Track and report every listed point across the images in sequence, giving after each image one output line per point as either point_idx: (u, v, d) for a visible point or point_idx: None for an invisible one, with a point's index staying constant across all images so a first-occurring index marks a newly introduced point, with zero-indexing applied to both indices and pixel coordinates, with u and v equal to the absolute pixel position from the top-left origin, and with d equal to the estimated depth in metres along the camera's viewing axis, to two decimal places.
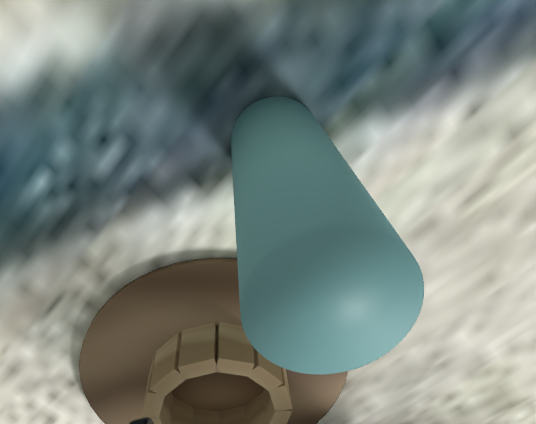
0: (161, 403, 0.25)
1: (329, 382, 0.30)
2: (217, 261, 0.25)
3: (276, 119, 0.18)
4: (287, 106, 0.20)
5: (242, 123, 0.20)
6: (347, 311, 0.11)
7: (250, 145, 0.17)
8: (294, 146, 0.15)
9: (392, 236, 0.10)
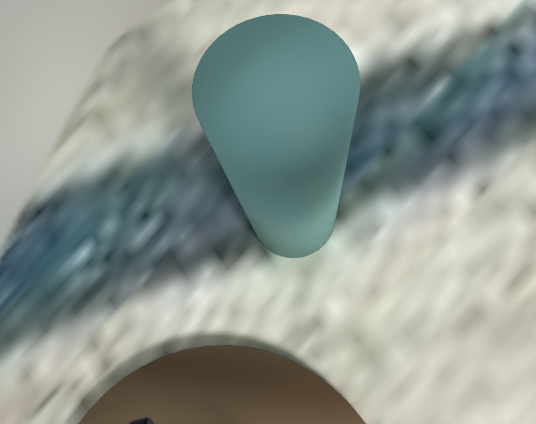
0: None
1: None
2: (229, 345, 0.22)
3: None
4: None
5: None
6: (288, 89, 0.12)
7: None
8: None
9: (320, 25, 0.12)
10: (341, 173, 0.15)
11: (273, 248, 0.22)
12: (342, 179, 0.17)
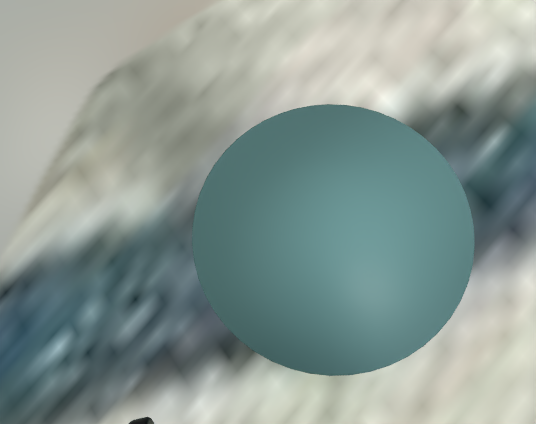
0: None
1: None
2: None
3: None
4: None
5: None
6: (352, 237, 0.07)
7: None
8: None
9: (398, 123, 0.08)
10: None
11: None
12: None
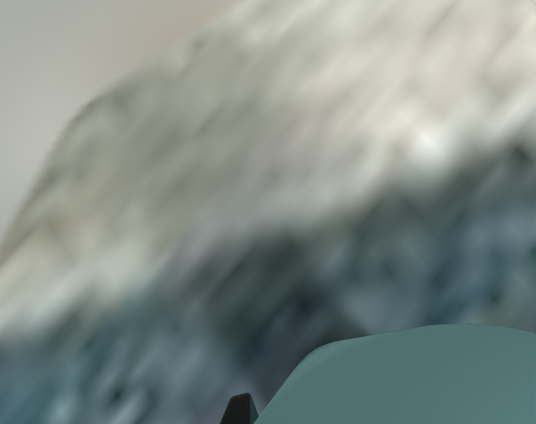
0: None
1: None
2: None
3: None
4: None
5: None
6: None
7: None
8: None
9: None
10: None
11: None
12: None
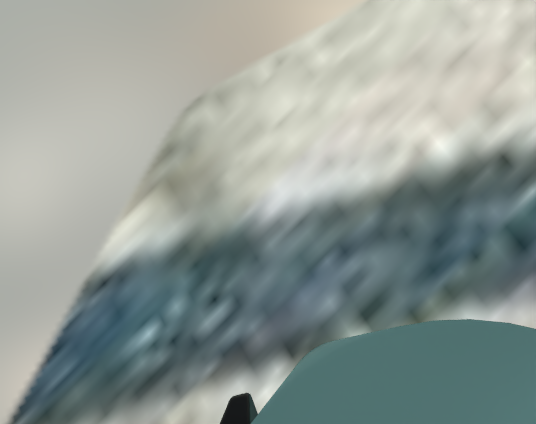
0: None
1: None
2: None
3: None
4: None
5: None
6: None
7: None
8: None
9: None
10: None
11: None
12: None
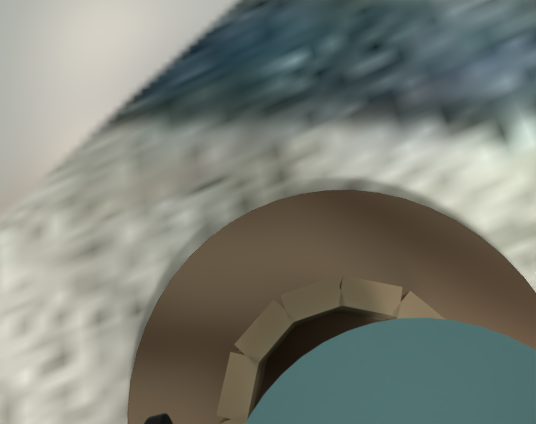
0: (280, 333, 0.15)
1: None
2: (430, 210, 0.19)
3: None
4: None
5: None
6: None
7: None
8: None
9: None
10: None
11: None
12: None
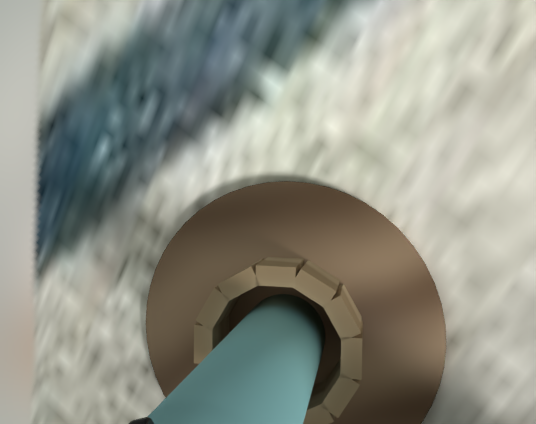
0: (210, 340, 0.23)
1: (424, 329, 0.23)
2: (250, 186, 0.25)
3: None
4: (254, 308, 0.23)
5: None
6: None
7: None
8: (211, 351, 0.18)
9: (191, 399, 0.12)
10: (300, 404, 0.15)
11: None
12: (303, 378, 0.17)
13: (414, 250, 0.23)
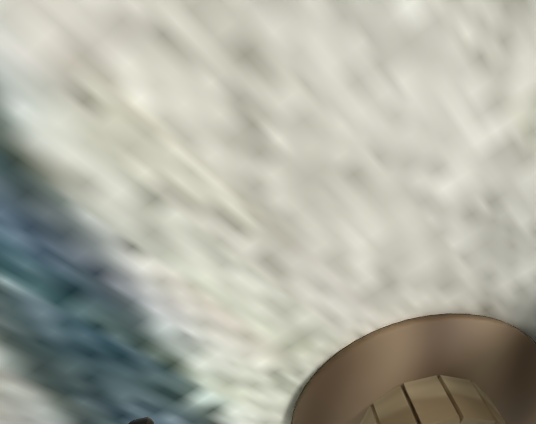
0: None
1: (468, 335, 0.25)
2: None
3: None
4: None
5: None
6: None
7: None
8: None
9: None
10: None
11: None
12: None
13: (399, 331, 0.24)
